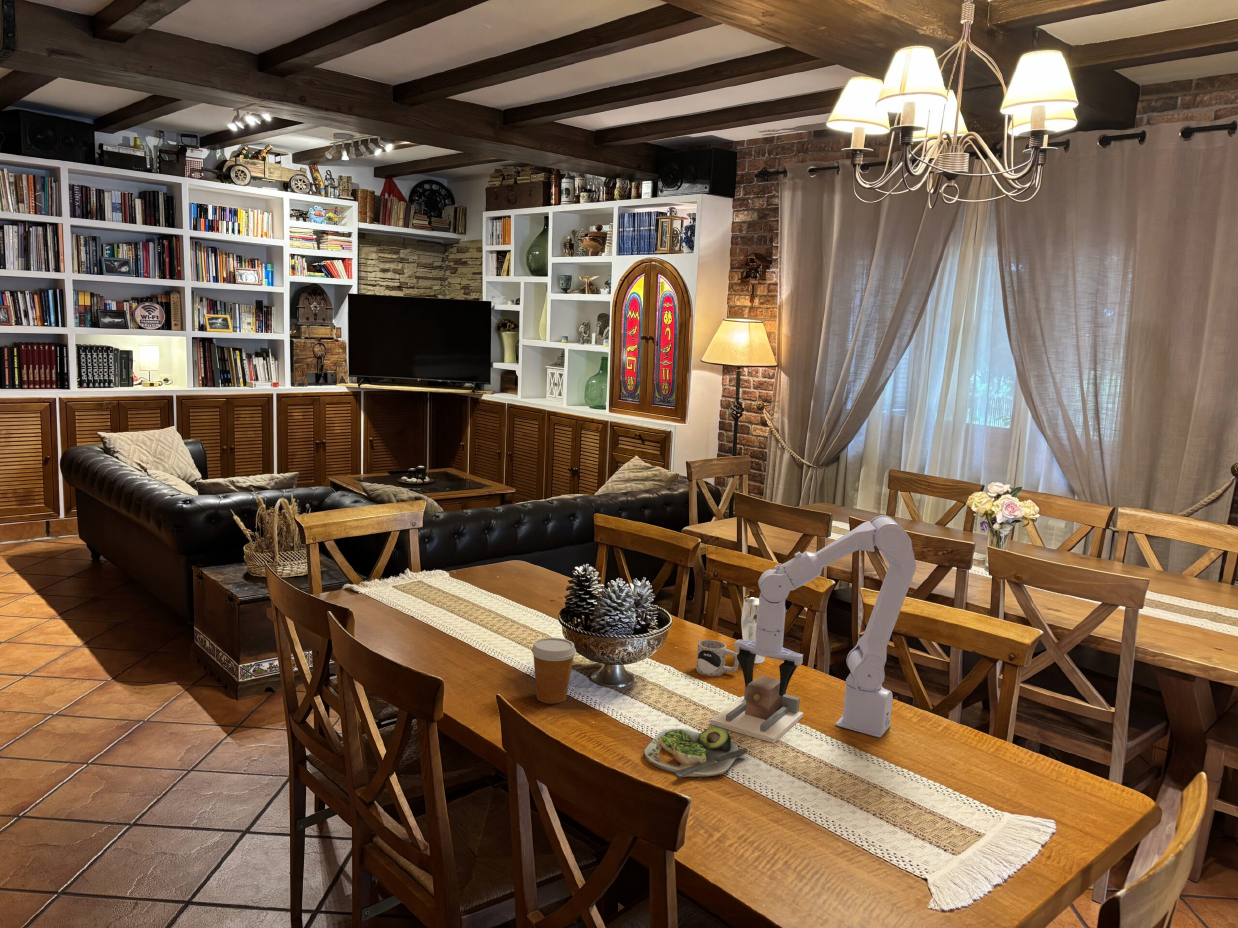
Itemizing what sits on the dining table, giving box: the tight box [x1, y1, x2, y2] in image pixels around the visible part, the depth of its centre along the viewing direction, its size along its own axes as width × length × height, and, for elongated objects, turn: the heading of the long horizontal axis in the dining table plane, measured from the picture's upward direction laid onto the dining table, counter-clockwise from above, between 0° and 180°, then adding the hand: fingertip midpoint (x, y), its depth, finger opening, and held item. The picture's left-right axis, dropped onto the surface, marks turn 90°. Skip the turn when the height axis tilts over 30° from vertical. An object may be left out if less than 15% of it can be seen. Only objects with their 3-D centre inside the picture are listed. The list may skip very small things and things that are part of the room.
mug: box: [695, 639, 740, 677], centre depth 216 cm, size 10×7×7 cm, turn 71°
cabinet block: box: [745, 674, 781, 720], centre depth 192 cm, size 5×8×6 cm, turn 148°
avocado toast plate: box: [643, 726, 749, 778], centre depth 170 cm, size 19×18×5 cm
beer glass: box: [740, 597, 766, 665], centre depth 226 cm, size 7×7×15 cm
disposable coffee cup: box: [531, 637, 577, 705], centre depth 195 cm, size 10×10×12 cm
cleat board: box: [709, 686, 804, 744], centre depth 190 cm, size 14×16×4 cm
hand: (765, 689), depth 192 cm, fingers open, 7 cm apart
